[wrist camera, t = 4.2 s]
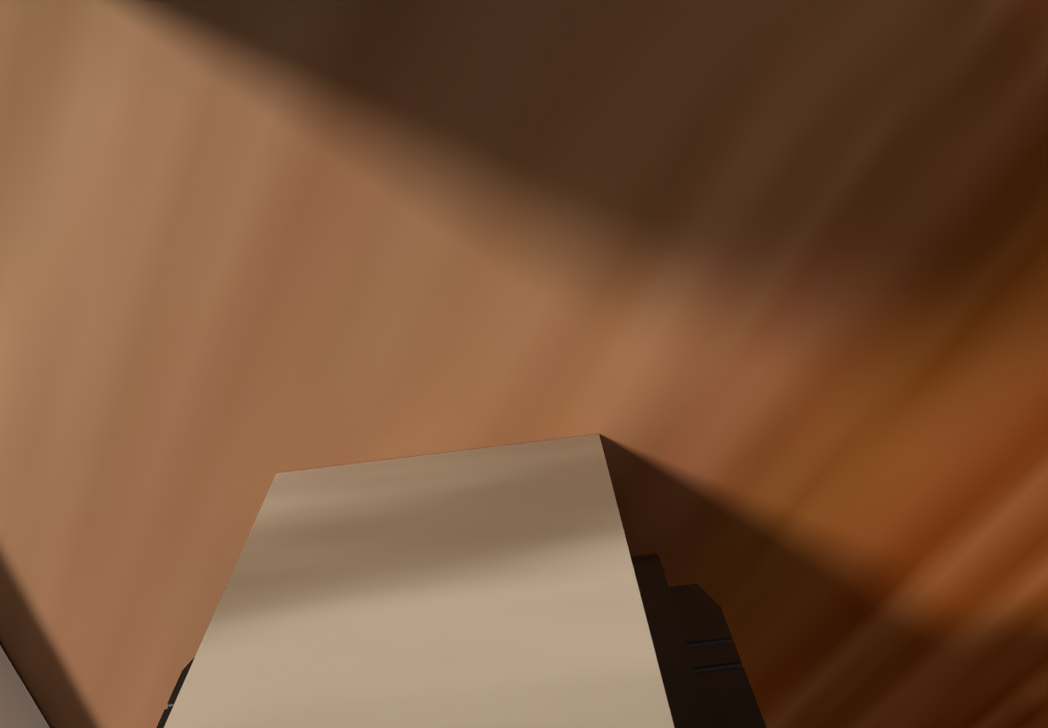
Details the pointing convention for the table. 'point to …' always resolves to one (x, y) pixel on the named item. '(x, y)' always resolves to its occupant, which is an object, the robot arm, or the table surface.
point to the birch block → (433, 600)
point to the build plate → (16, 700)
